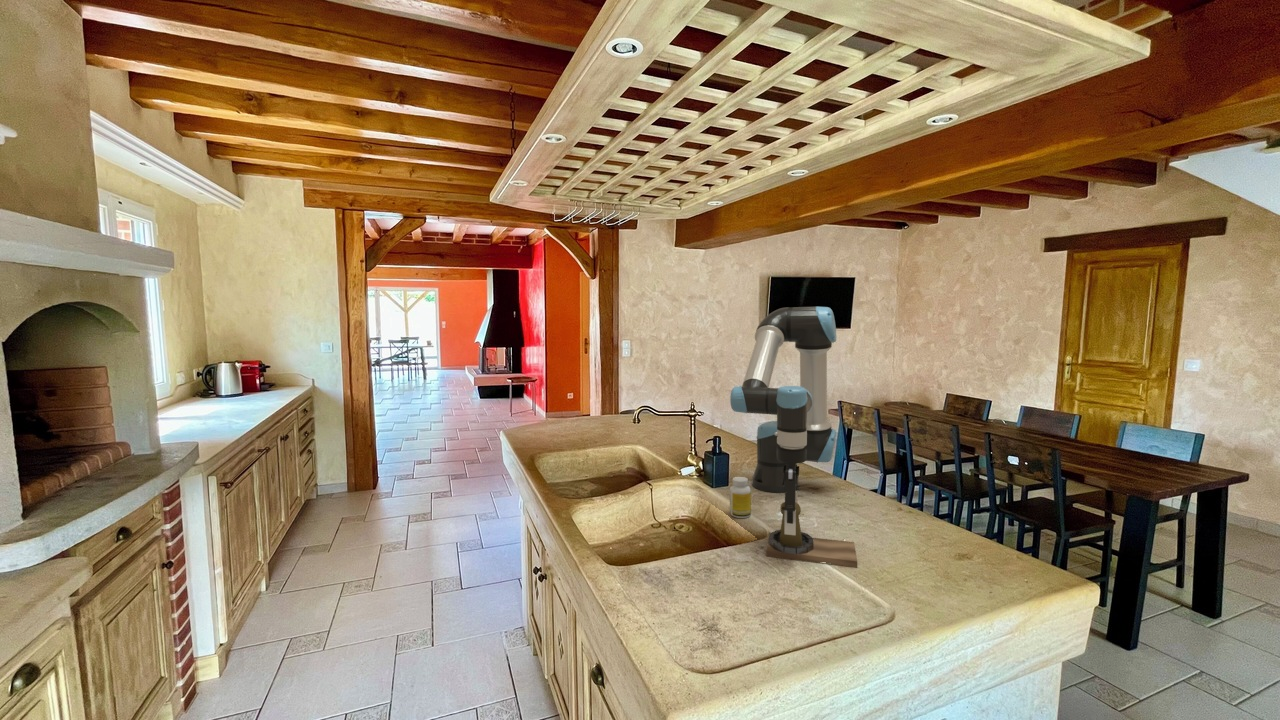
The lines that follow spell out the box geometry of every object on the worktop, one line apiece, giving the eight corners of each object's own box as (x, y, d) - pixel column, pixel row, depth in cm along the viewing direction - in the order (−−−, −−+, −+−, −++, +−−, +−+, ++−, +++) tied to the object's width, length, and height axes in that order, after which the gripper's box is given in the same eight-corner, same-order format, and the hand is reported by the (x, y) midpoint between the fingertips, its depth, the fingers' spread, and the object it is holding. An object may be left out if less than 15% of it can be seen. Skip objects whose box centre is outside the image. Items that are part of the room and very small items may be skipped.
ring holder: (770, 532, 145) (770, 527, 145) (813, 537, 142) (813, 532, 142) (767, 550, 135) (767, 545, 135) (813, 556, 131) (813, 550, 131)
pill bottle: (752, 518, 159) (752, 482, 158) (731, 519, 159) (731, 482, 158) (748, 510, 166) (748, 475, 164) (728, 511, 166) (728, 475, 165)
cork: (800, 537, 141) (800, 498, 140) (804, 548, 135) (804, 507, 134) (777, 537, 142) (777, 498, 141) (781, 547, 136) (780, 507, 135)
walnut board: (769, 538, 146) (769, 532, 145) (853, 547, 139) (854, 542, 138) (766, 556, 135) (766, 550, 135) (857, 567, 128) (857, 561, 128)
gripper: (779, 433, 149) (779, 505, 151) (773, 457, 125) (773, 542, 127) (807, 435, 146) (806, 507, 148) (805, 460, 123) (805, 545, 125)
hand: (791, 523), depth 138 cm, fingers open, 13 cm apart
